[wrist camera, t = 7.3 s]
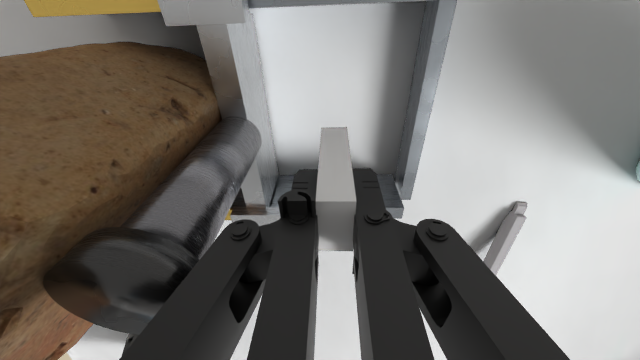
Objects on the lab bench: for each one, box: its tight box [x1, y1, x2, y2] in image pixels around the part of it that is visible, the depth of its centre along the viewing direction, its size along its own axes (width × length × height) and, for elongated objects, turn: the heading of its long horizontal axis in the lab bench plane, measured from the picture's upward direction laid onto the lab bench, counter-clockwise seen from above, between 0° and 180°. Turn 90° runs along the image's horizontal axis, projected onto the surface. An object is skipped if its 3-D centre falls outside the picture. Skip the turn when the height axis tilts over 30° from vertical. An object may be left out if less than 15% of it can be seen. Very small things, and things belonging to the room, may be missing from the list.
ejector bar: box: [43, 0, 281, 335], centre depth 14 cm, size 4×18×17 cm, turn 2°
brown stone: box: [0, 42, 222, 360], centre depth 13 cm, size 11×8×20 cm
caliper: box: [483, 202, 527, 276], centre depth 30 cm, size 20×1×6 cm, turn 175°
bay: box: [24, 0, 457, 220], centre depth 19 cm, size 23×16×5 cm
